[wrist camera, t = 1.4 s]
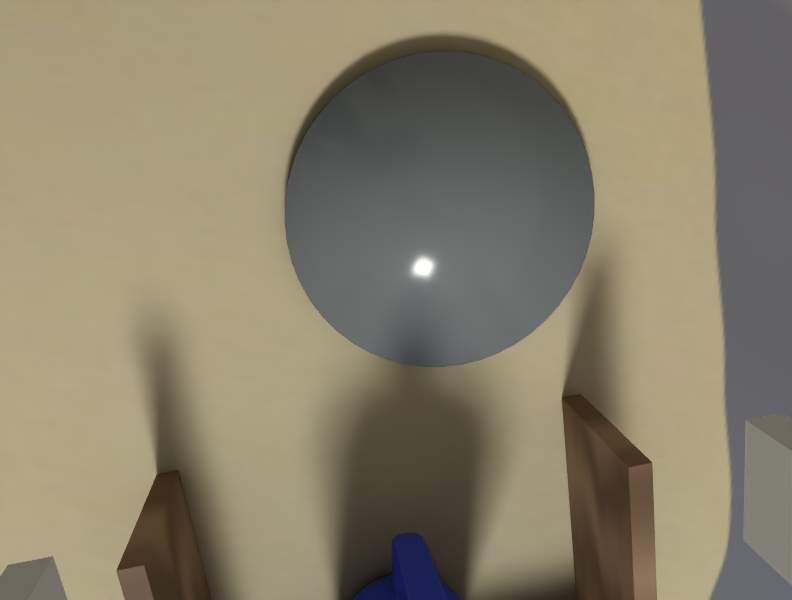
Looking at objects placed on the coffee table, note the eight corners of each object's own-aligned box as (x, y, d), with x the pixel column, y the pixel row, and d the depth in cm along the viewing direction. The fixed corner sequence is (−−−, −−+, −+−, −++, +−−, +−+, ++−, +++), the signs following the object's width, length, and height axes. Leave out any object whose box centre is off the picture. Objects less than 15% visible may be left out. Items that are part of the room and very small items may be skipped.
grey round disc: (257, 75, 27) (256, 74, 27) (579, 32, 28) (585, 30, 28) (314, 386, 31) (314, 391, 30) (596, 335, 32) (602, 338, 32)
